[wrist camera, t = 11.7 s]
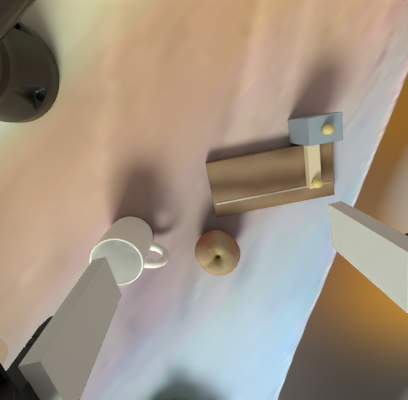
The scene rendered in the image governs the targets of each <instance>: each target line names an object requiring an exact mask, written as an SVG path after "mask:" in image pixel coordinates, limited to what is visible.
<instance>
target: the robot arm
mask: <svg viewBox="0 0 408 400" xmlns="http://www.w3.org/2000/svg"><path fill="white" fill-rule="evenodd" d="M35 1H36V0H0V121H3V122H14V123H23V122H30V121H33V120H36V119H38V118H40V117H41V116H43V115H44V114H45V113H46V112H48V110H49V109H50V108H51V107H52V105H53V103H54V102H55V99H56V97H57V93H58V88H59V75H58V69H57V65H56V62H55V60H54V57H53V55H52V53H51V51H50V50H49V48H48V46H47V45H46V44H45V42H44V41H43V40H42V39H41V38H40V37H39V36H38V35H37V34H36V33H35V32H34V31H33V30H31V29H30V28H28V27H27V26H25V25H24V24H22V23H20V22H18V21H19V20H20V19H21V18H22V17H23V15H24V14H25V13H26V12H27V11H28V10H29V8H30V7H31V6H32V5H33V4H34V2H35ZM328 208H329V220H330V232H331V245H332V247H333V248H334V249H335V250H336V251H337V252H339V253H340V254H341V255H342V256H343V257H344V258H345V259H347V260H348V261H349V262H350V263H351V264H352V265H353V266H354V267H356V268H357V269H358V270H359V271H360V272H361V273H362V274H364V275H365V276H366V277H367V278H368V279H369V280H370V281H371V282H373V283H374V284H375V285H376V286H377V287H379V289H381V290H382V291H383V292H384V293H385V294H386V295H387V296H388V297H390V298H391V299H392V300H393V301H395V303H396V304H398V305H399V306H400V307H401V308H402V309H403V310H404V311H406V312H407V313H408V233H407V234H402V233H401V232H399V231H397V230H395V229H393V228H391V227H389V226H388V225H386V224H384V223H382V222H380V221H378V220H376V219H374V218H372V217H370V216H368V215H367V214H365V213H363V212H361V211H359V210H357V209H355V208H353V207H351V206H349V205H348V204H346V203H344V202H342V201H341V202H336V203H332V204H328ZM120 298H121V293H120V290H119V288H118V285H117V283H116V280H115V278H114V275H113V273H112V270H111V268H110V266H109V263H108V261H107V258H106V257H102V258H98V259H94V260H93V261H92V262H91V263H90V265H89V266H88V268H87V269H86V271H85V272H84V273H83V275H82V276H81V278H80V279H79V281H78V282H77V283H76V285H75V286H74V288H73V289H72V290H71V292H70V293H69V295H68V296H67V298H66V299H65V300H64V302H63V303H62V305H61V306H60V307H59V309H58V310H57V312H56V313H55V315H54V316H52V317H49V318H48V319H47V320H46V321H45V322H44V323H43V324H42V325H41V326H39V328H38V329H37V330H36V332H35V333H34V334H33V336H32V338H31V339H30V340H29V341H28V343H27V344H26V347H24V348H23V349H22V351H21V352H20V353H19V355H18V356H17V358H16V359H15V360H14V362H13V363H12V364H11V366H10V367H9V368H8V370H7V371H5V370H4V368H3V366H2V365H1V363H0V400H80V398H81V396H82V393H83V391H84V388H85V386H86V383H87V380H88V378H89V375H90V373H91V370H92V368H93V365H94V363H95V360H96V358H97V355H98V353H99V350H100V348H101V345H102V343H103V340H104V338H105V335H106V333H107V330H108V328H109V325H110V323H111V320H112V318H113V315H114V313H115V310H116V308H117V305H118V303H119V300H120Z"/></svg>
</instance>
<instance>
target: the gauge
mask: <svg viewBox="0 0 408 400" xmlns="http://www.w3.org/2000/svg"><path fill="white" fill-rule="evenodd" d="M288 128H289V139H290V143H293V144H299V145H304V158H305V171H306V185H307V187H308V188H310V189H312V188H320V187H322V185H323V181H322V180H321V164H320V146H319V144H324V143H329V142H334V141H339V140H343V123H342V112H334V113H324V114H315V115H310V116H305V117H300V118H295V119H290V120H288Z"/></svg>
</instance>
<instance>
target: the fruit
mask: <svg viewBox="0 0 408 400" xmlns="http://www.w3.org/2000/svg"><path fill="white" fill-rule="evenodd" d="M195 257H196V259H197V261H198V262H199V263H200V265H201V267H202V268H203V269H204V270H205V271H206V272H208V273H209V274H212V275H216V276H218V275H225V274H228V273H230V272H231V271H233V270H234V269H235V267H236V266H237V264H238V262H239V259H240V249H239V246H238V244H237V242H236V240H235V239H234V238H233V237H232V236H231V235H229V234H228V233H226V232H224V231H222V230H211V231H209V232H207V233H205V234H204V235H202V236H201V237H200V238H199V240H198V242H197V243H196V247H195Z"/></svg>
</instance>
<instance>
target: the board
mask: <svg viewBox="0 0 408 400" xmlns="http://www.w3.org/2000/svg"><path fill="white" fill-rule="evenodd" d="M319 146H320V164H321V180H322V181H323V185H322V187H320V188H312V189H310V188H308V187H307V185H306V171H305V158H304V145H299V144H298V145H292V146H287V147H282V148H277V149H272V150H267V151H262V152H257V153H252V154H246V155H241V156H236V157H231V158H226V159H221V160H216V161H211V162H206V167H207V172H208V177H209V183H210V188H211V193H212V199H213V204H214V209H215V214H216V217H220V216H226V215H231V214H236V213H241V212H246V211H252V210H257V209H262V208H267V207H273V206H278V205H283V204H288V203H293V202H299V201H304V200H309V199H314V198H319V197H325V196H330V195H334V172H333V147H332V142H329V143H324V144H319Z"/></svg>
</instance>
